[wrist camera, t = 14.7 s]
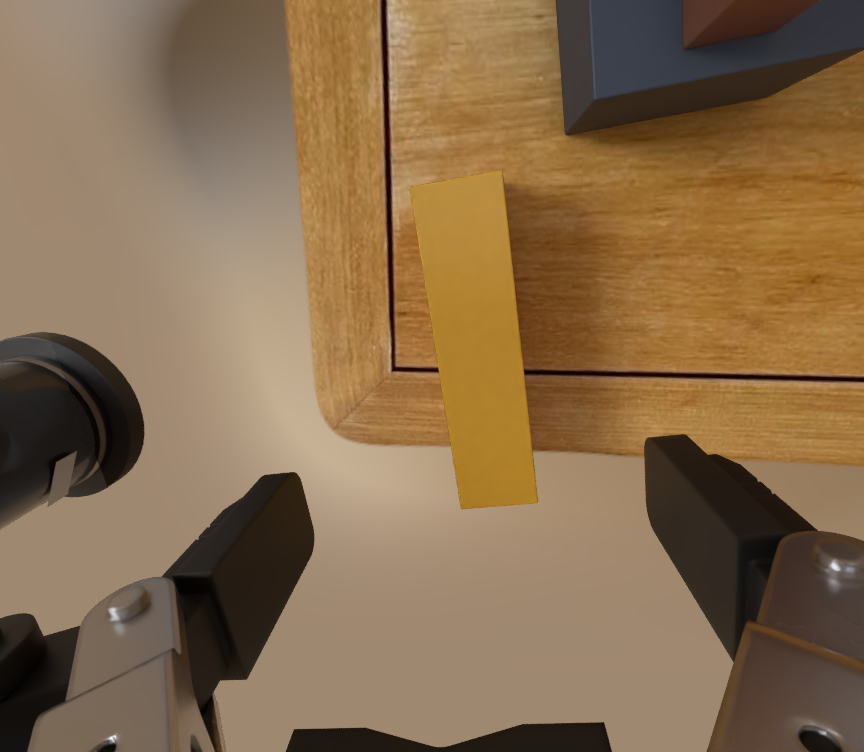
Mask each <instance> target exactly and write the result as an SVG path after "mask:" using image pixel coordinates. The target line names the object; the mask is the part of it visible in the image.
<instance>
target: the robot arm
mask: <svg viewBox="0 0 864 752" xmlns="http://www.w3.org/2000/svg"><path fill="white" fill-rule="evenodd" d="M111 445H112V431H111V425H110V420H109V417H108V414H107V412H106V410H105V407H104V405H103V404H102V402H101V400H100V398H99V397H98V395H97V394H96V393H95V391H94V390H93V389H92V388H91V387H90V385H89V384H88V383H87V382H86V381H85V380H84V379H83V378H81V377H80V376H79V375H78V374H77V373H75V372H74V371H73V370H71V369H69V368H68V367H66V366H64V365H62V364H61V363H58V362H56V361H54V360H51V359H48V358H44V357H39V356H19V357H14V358H10V359H6V360H2V361H0V529H2V528H4V527H5V526H7V525H9V524H10V523H12V522H14V521H15V520H17V519H19V518H20V517H22V516H23V515H25V514H27V513H28V512H30V511H32V510H33V509H35V508H37V507H38V506H40V505H42V504H44V503H45V502H47V501H48V507H49V506H50V505H52V504H53V503H55V502H56V501H58V500H60V499H61V498H63V497H64V496H66V495H67V494H68V491H69V488H70V487H72V486H75V485H77V484H79V483H81V482H83V481H84V480H86V479H88V478H89V477H91V476H93V475H94V474H95V473H97V472H98V471H99V470H100V469H101V468H102V467H103V465H104V464H105V462H106V461H107V459H108V456H109V454H110V450H111ZM644 454H645V485H646V506H647V512H648V517H649V520H650V523H651V526H652V528H653V530H654V532H655V534H656V536H657V537H658V539H659V541H660V542H661V544H662V545H663V547H664V549H665V550H666V552H667V554H668V555H669V557H670V559H671V560H672V562H673V564H674V565H675V567H676V568H677V570H678V572H679V573H680V575H681V577H682V578H683V580H684V582H685V583H686V585H687V587H688V588H689V590H690V591H691V593H692V595H693V596H694V598H695V600H696V601H697V603H698V604H699V606H700V608H701V610H702V611H703V613H704V614H705V616H706V618H707V619H708V621H709V623H710V624H711V626H712V628H713V629H714V631H715V633H716V634H717V636H718V637H719V639H720V641H721V642H722V644H723V646H724V647H725V649H726V651H727V652H728V654H729V655H730V657H731V659H732V660H733V662H734V664H733V667H732V670H731V674H730V677H729V680H728V684H727V687H726V690H725V694H724V697H723V700H722V703H721V707H720V710H719V713H718V716H717V720H716V723H715V726H714V729H713V733H712V736H711V739H710V743H709V746H708V749H707V752H864V541H862V540H859V539H856V538H853V537H850V536H846V535H842V534H837V533H831V532H823V531H818V530H817V529H815V528H814V527H813V526H812V525H811V524H810V523H808V522H807V521H806V520H805V519H804V518H803V517H801V516H800V515H799V514H798V513H797V512H795V511H794V510H793V509H792V508H791V507H790V506H788V505H787V504H786V503H785V502H784V501H783V500H781V499H780V498H779V497H778V496H777V495H776V494H772V493H771V490H770V489H769V488H767V487H766V486H765V485H764V484H763V483H761V482H758V481H757V478H756V477H754V476H753V475H752V474H751V473H750V472H748V471H747V470H746V469H745V468H744V467H742V465H740V464H738V463H735V462H733V461H731V460H729V459H726V458H724V457H722V456H720V455H717V454H712V455H707V454H706V453H705V452H704V451H703V450H702V449H701V448H700V447H699V446H698V445H696V444H695V443H694V442H693V441H692V440H691V439H690V438H689V437H688V436H687V435H685V434H681V435H671V436H661V437H650V438H647V439H646V441H645V447H644ZM313 547H314V530H313V525H312V521H311V517H310V513H309V509H308V505H307V502H306V498H305V494H304V490H303V486H302V482H301V479H300V477H299V476H298V475H297V473H295V472H290V473H280V474H270V475H264V476H262V477H261V478H260V479H259V480H258V481H257V482H256V483H255V484H254V486H253V487H252V488H251V489H250V490H249V491H248V492H247V493H246V494H245V496H244V497H243V498H241V499H239V500H238V501H237V502H235V503H233V504H232V505H230V506H229V507H228V508H226V509H225V510H223V511H222V512H221V514H219V515H218V517H217V518H216V519H215V520H214V521H213V522H212V523H211V524H210V527H209V528H207V529H205V530H204V532H203V533H202V534H201V535H200V536H199V540H195V541H194V542H193V543H192V544H191V546H190V547H189V548H188V549H187V550H186V551H185V552H184V553H183V554H182V555H181V556H180V557H179V559H178V560H177V561H176V562H175V563H174V564H173V565H172V566H171V567H170V568H169V569H168V570H167V571H166V573H164V575H163V576H162V577H153V578H148V579H143V580H140V581H137V582H134V583H132V584H129V585H127V586H125V587H123V588H121V589H119V590H118V591H115V592H114V593H112V594H110V595H109V596H107V597H106V598H105V599H103V600H102V601H101V602H99V603H98V604H97V605H96V606H95V607H94V608H93V609H92V610H91V611H90V612H89V613H88V614H87V615H86V616H85V618H84V620H83V621H82V623H81V626H78V627H74V628H71V629H67V630H64V631H60V632H57V633H53V634H50V635H47V636H43V634H42V632H41V630H40V628H39V626H38V624H37V621H36V619H35V618H34V616H33V615H31V614H26V613H25V614H15V615H11V616H6V617H3V618H0V752H226V747H225V741H224V736H223V730H222V725H221V718H220V713H219V707H218V703H217V700H216V697H215V695H214V690H215V688H216V687H217V685H218V683H219V681H220V680H246V679H247V678H248V676H249V674H250V672H251V671H252V669H253V667H254V665H255V663H256V661H257V659H258V657H259V655H260V653H261V651H262V649H263V647H264V645H265V644H266V642H267V640H268V638H269V636H270V634H271V632H272V630H273V628H274V626H275V624H276V622H277V620H278V619H279V617H280V615H281V613H282V611H283V609H284V607H285V605H286V603H287V601H288V599H289V597H290V595H291V594H292V592H293V590H294V588H295V586H296V584H297V582H298V580H299V578H300V576H301V574H302V572H303V571H304V569H305V567H306V565H307V562H308V561H309V559H310V557H311V555H312V552H313ZM286 752H612V750H611V747H610V743H609V739H608V735H607V732H606V728H605V724H604V722H601V723H561V724H560V723H558V724H557V723H556V724H522V725H519V726H515V727H512V728H509V729H505V730H502V731H499V732H495V733H492V734H489V735H485V736H482V737H478V738H475V739H471V740H468V741H465V742H461V743H458V744H455V745H451V746H447V747H433V746H429V745H425V744H422V743H418V742H415V741H411V740H407V739H404V738H400V737H397V736H393V735H389V734H386V733H382V732H379V731H375V730H372V729H368V728H334V729H333V728H332V729H294V731H293V734H292V736H291V739H290V742H289V744H288V747H287V750H286Z"/></svg>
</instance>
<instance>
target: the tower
mask: <svg viewBox="0 0 864 752" xmlns="http://www.w3.org/2000/svg"><path fill="white" fill-rule="evenodd" d="M556 8H557V23H558V37H559V52H560V66H561V80H562V95H563V109H564V124H565V134H566V135H570V134H576V133H581V132H586V131H592V130H597V129H602V128H607V127H613V126H618V125H623V124H629V123H634V122H639V121H645V120H650V119H655V118H660V117H666V116H671V115H676V114H682V113H687V112H692V111H697V110H703V109H708V108H713V107H719V106H724V105H729V104H734V103H740V102H745V101H750V100H756V99H761V98H766V97H768V96H770V95H772V94H775V93H777V92H779V91H781V90H783V89H785V88H787V87H789V86H791V85H793V84H795V83H797V82H799V81H801V80H803V79H805V78H807V77H809V76H811V75H813V74H815V73H817V72H819V71H822V70H824V69H826V68H828V67H830V66H832V65H834V64H836V63H838V62H840V61H842V60H844V59H846V58H848V57H850V56H852V55H854V54H856V53H858V52H860V51H862V50H864V0H556Z"/></svg>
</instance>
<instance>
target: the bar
mask: <svg viewBox="0 0 864 752" xmlns="http://www.w3.org/2000/svg"><path fill="white" fill-rule="evenodd" d="M410 193H411V200H412V206H413V212H414V218H415V225H416V231H417V237H418V243H419V250H420V256H421V262H422V268H423V275H424V281H425V287H426V293H427V300H428V306H429V312H430V318H431V325H432V331H433V337H434V343H435V350H436V356H437V362H438V368H439V375H440V381H441V387H442V393H443V400H444V406H445V412H446V418H447V425H448V431H449V437H450V443H451V449H452V456H453V462H454V468H455V474H456V480H457V487H458V493H459V499H460V506H461V509H470V508H482V507H495V506H507V505H519V504H533V503H538V497H537V488H536V480H535V469H534V460H533V451H532V441H531V432H530V423H529V413H528V404H527V395H526V386H525V376H524V367H523V358H522V348H521V339H520V330H519V320H518V311H517V302H516V292H515V283H514V274H513V264H512V255H511V246H510V236H509V227H508V218H507V208H506V199H505V190H504V180H503V171H502V170H498V171H493V172H487V173H482V174H476V175H471V176H466V177H460V178H455V179H449V180H444V181H439V182H433V183H428V184H422V185H417V186H411V187H410Z"/></svg>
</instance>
